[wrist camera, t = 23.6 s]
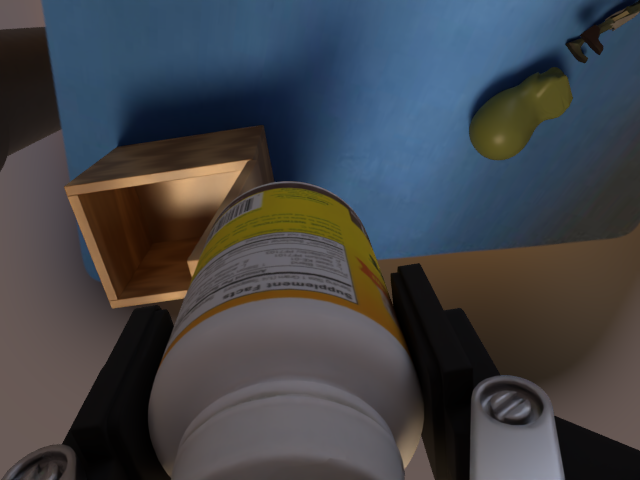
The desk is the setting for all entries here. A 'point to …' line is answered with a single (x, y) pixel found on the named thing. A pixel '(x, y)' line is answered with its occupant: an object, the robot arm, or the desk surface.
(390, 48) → the desk surface
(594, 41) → the zombie figurine
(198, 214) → the chest
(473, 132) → the pear
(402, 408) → the supplement bottle
